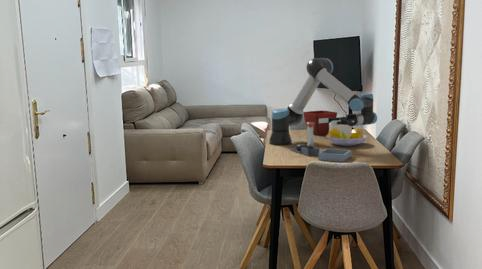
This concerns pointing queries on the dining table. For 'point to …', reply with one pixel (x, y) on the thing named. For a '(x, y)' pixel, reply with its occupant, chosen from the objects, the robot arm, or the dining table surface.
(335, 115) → the plant pot
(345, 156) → the tray
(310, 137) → the lock pin
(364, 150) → the dining table surface
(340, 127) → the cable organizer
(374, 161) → the dining table surface
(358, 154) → the dining table surface
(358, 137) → the fruit bowl
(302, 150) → the bracket
